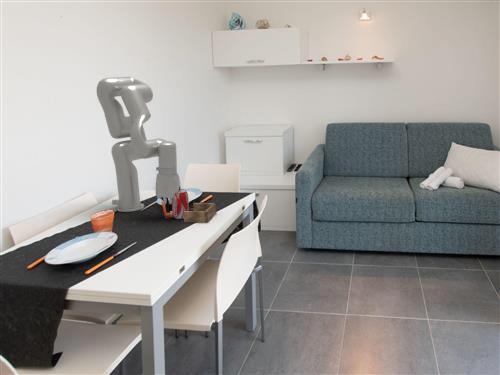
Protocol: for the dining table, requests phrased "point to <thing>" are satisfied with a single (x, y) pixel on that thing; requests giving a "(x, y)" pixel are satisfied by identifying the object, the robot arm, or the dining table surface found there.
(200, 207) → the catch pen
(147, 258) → the dining table surface
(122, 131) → the robot arm
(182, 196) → the soda can
